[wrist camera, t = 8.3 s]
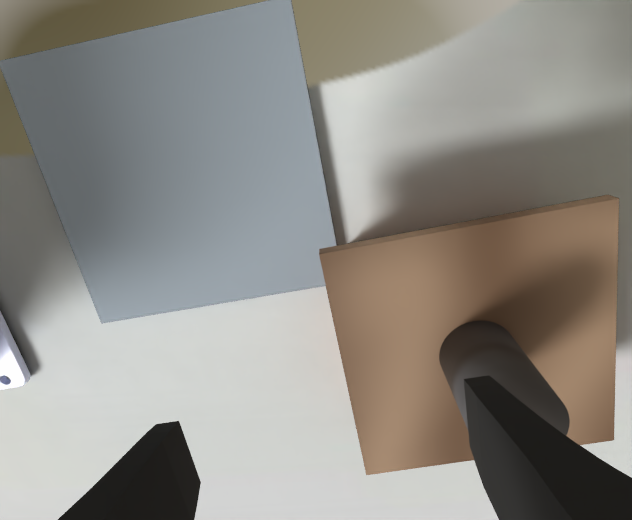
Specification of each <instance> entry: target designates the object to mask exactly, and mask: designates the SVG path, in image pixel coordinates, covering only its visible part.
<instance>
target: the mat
mask: <svg viewBox="0 0 632 520" xmlns="http://www.w3.org/2000/svg"><path fill="white" fill-rule="evenodd" d="M0 68H1V71H2V73H3V76H4V78H5V81H6V83H7V86H8V88H9V91H10V93H11V96H12V98H13V101H14V103H15V106H16V109H17V111H18V114H19V116H20V119H21V121H22V124H23V126H24V129H25V131H26V133H27V136H28V139H29V141H30V144H31V146H32V149H33V152H34V154H35V157H36V159H37V162H38V164H39V167H40V169H41V172H42V174H43V177H44V179H45V182H46V184H47V187H48V189H49V192H50V195H51V197H52V200H53V202H54V205H55V207H56V210H57V212H58V215H59V217H60V220H61V222H62V225H63V227H64V230H65V233H66V235H67V238H68V240H69V243H70V245H71V248H72V250H73V253H74V255H75V258H76V260H77V263H78V265H79V268H80V270H81V273H82V276H83V278H84V281H85V283H86V286H87V288H88V291H89V293H90V296H91V298H92V301H93V303H94V306H95V308H96V311H97V313H98V316H99V319H100V321H101V323H107V322H113V321H119V320H125V319H131V318H137V317H143V316H149V315H155V314H161V313H167V312H173V311H179V310H185V309H191V308H197V307H203V306H209V305H214V304H220V303H226V302H232V301H238V300H244V299H250V298H256V297H262V296H268V295H274V294H280V293H286V292H292V291H298V290H304V289H310V288H316V287H322V286H326V284H325V280H324V275H323V270H322V266H321V261H320V257H319V249H322V248H327V247H332V246H337V244H336V238H335V233H334V227H333V222H332V217H331V211H330V206H329V200H328V195H327V190H326V184H325V179H324V174H323V168H322V163H321V157H320V152H319V147H318V141H317V136H316V130H315V125H314V120H313V114H312V109H311V104H310V98H309V93H308V87H307V82H306V77H305V72H304V66H303V61H302V55H301V50H300V45H299V39H298V34H297V28H296V23H295V18H294V12H293V7H292V1H291V0H268V1H264V2H259V3H254V4H250V5H246V6H241V7H237V8H232V9H228V10H223V11H219V12H214V13H211V14H206V15H201V16H197V17H192V18H188V19H183V20H179V21H175V22H170V23H166V24H161V25H157V26H152V27H148V28H143V29H139V30H134V31H130V32H125V33H122V34H117V35H112V36H108V37H104V38H99V39H94V40H90V41H85V42H81V43H77V44H72V45H68V46H63V47H59V48H54V49H50V50H45V51H41V52H37V53H33V54H28V55H24V56H19V57H14V58H10V59H5V60H1V61H0Z"/></svg>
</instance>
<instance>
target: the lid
mask: <svg viewBox="0 0 632 520" xmlns="http://www.w3.org/2000/svg"><path fill="white" fill-rule="evenodd" d="M618 223H619V198H616V197H613V196H611V195H604V196H599V197H593V198H588V199H583V200H577V201H572V202H567V203H561V204H556V205H551V206H545V207H540V208H535V209H529V210H524V211H519V212H513V213H508V214H503V215H497V216H492V217H487V218H481V219H476V220H471V221H465V222H460V223H455V224H449V225H444V226H439V227H433V228H428V229H423V230H417V231H412V232H407V233H402V234H396V235H391V236H386V237H380V238H375V239H370V240H364V241H359V242H354V243H348V244H343V245H338V246H332V247H327V248H322V249H319V257H320V261H321V266H322V270H323V275H324V280H325V284H326V289H327V294H328V298H329V303H330V308H331V312H332V317H333V322H334V326H335V331H336V336H337V340H338V345H339V350H340V354H341V359H342V363H343V368H344V373H345V377H346V382H347V387H348V391H349V396H350V401H351V405H352V410H353V415H354V419H355V424H356V429H357V433H358V438H359V442H360V447H361V452H362V456H363V461H364V466H365V470H366V475H370V474H378V473H385V472H392V471H399V470H406V469H413V468H420V467H427V466H434V465H441V464H448V463H456V462H463V461H470V460H474V457H473V454H472V451H471V448H470V444H469V433H468V422H467V411H466V400H465V389H464V379H467V378H474V377H481V376H487V375H489V376H491V377H492V378H493V379H495V380H496V381H497V382H498V383H500V384H501V385H502V386H503V387H504V388H506V389H507V390H508V391H509V392H510V393H512V394H513V395H514V396H515V397H516V398H518V399H519V400H520V401H521V402H523V403H524V404H525V405H526V406H528V407H529V408H530V409H531V410H533V411H534V412H535V413H536V414H538V415H539V416H540V417H542V418H543V419H544V420H546V421H547V422H548V423H550V424H551V425H552V426H554V427H555V428H556V429H558V430H559V431H560V432H562V433H563V434H564V435H566V436H567V437H569V438H570V439H571V440H573V441H574V442H576V443H577V444H578V445H583V444H590V443H597V442H604V441H612V440H614V410H615V363H616V316H617V269H618Z"/></svg>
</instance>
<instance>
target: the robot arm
mask: <svg viewBox="0 0 632 520" xmlns="http://www.w3.org/2000/svg"><path fill="white" fill-rule="evenodd" d="M6 376H8V377H9V378H10V379H11V380H10V379H8V378H7V377H6ZM29 380H30V372H29V370H28V368H27V366H26V364H25V362H24V360H23V358H22V356H21V354H20V351H19V349H18V347H17V345H16V343H15V341H14V339H13V337H12V335H11V332H10V330H9V328H8V326H7V324H6V322H5V320H4V318H3V316H2V314H1V311H0V390H3V389H9V388H15V387H21V386H24V385H25V384H26V383H27V382H28V381H29ZM464 389H465V400H466V411H467V422H468V433H469V444H470V448H471V451H472V454H473V457H474V460H475V463H476V466H477V469H478V472H479V475H480V478H481V480H482V483H483V486H484V488H485V490H486V493H487V495H488V497H489V499H490V501H491V503H492V505H493V508H494V510H495V512H496V514H497V516H498V518H499V520H632V478H631V477H629V476H627V475H626V474H624V473H622V472H621V471H619V470H617V469H615V468H614V467H612V466H611V465H609V464H607V463H606V462H604V461H602V460H601V459H599V458H598V457H596V456H595V455H593V454H592V453H590V452H589V451H587V450H586V449H584V448H583V447H581V446H580V445H578V444H577V443H576V442H574V441H573V440H571V439H570V438H569V437H567V436H566V435H564V434H563V433H562V432H560V431H559V430H558V429H556V428H555V427H554V426H552V425H551V424H550V423H548V422H547V421H546V420H544V419H543V418H542V417H540V416H539V415H538V414H536V413H535V412H534V411H533V410H531V409H530V408H529V407H528V406H526V405H525V404H524V403H523V402H521V401H520V400H519V399H518V398H516V397H515V396H514V395H513V394H512V393H510V392H509V391H508V390H507V389H506V388H504V387H503V386H502V385H501V384H500V383H498V382H497V381H496V380H495V379H493V378H492V377H491V376H489V375H487V376H481V377H474V378H467V379H464ZM200 483H201V482H200V479H199V477H198V474H197V471H196V468H195V465H194V462H193V460H192V457H191V454H190V451H189V448H188V445H187V443H186V440H185V437H184V434H183V431H182V429H181V426H180V423H179V421H176V422H169V423H162V424H156V425H155V426H154V427H153V428H152V429H150V430H149V431H148V432H147V433H146V434H145V435H144V436H143V437H142V438H141V439H140V440H139V441H138V442H137V443H136V444H135V445H134V446H133V447H132V448H131V449H130V450H129V451H128V452H127V453H126V454H125V455H124V456H123V457H122V458H121V459H120V460H119V461H118V462H117V463H116V464H115V465H114V466H113V467H112V468H111V469H110V470H109V471H108V472H107V473H106V474H105V475H104V476H103V477H102V478H101V479H100V480H99V481H98V482H97V483H96V484H95V485H94V486H93V487H92V488H91V489H90V490H89V491H88V492H87V493H86V494H85V495H84V496H83V497H82V498H80V499H79V500H78V501H77V502H76V503H75V504H74V505H73V506H72V507H71V508H70V509H69V510H68V511H67V512H65V513H64V514H63V515H62V516H61V517H60V518H59V519H58V520H194V517H195V512H196V507H197V501H198V495H199V489H200Z"/></svg>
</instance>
